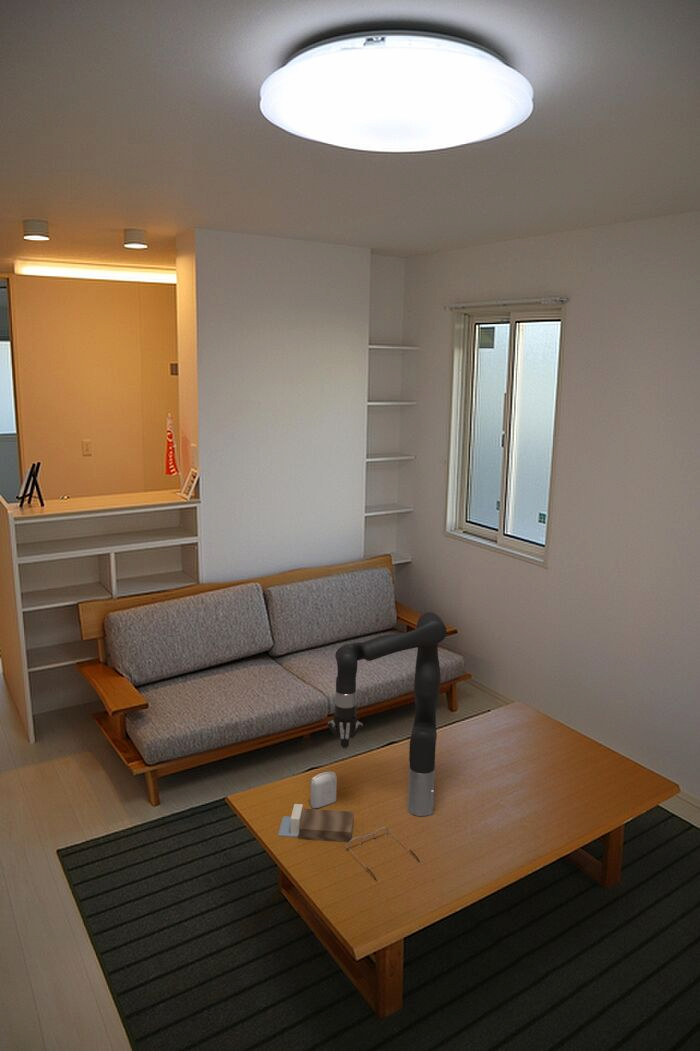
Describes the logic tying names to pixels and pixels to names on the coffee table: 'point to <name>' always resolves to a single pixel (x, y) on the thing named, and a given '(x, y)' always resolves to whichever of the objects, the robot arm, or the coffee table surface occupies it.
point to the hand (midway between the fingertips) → (344, 747)
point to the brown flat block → (326, 825)
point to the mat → (286, 828)
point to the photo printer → (323, 789)
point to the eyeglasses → (376, 838)
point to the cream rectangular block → (296, 818)
